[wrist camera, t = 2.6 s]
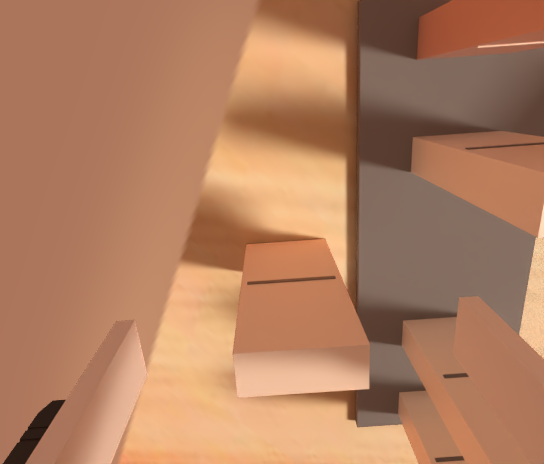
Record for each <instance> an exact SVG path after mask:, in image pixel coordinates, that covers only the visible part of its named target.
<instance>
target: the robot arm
mask: <svg viewBox="0 0 544 464" xmlns="http://www.w3.org/2000/svg"><path fill="white" fill-rule="evenodd" d="M453 355H454V356H455V358H456V359H457V361H458V362H459V363H460V365H461V366H462V368H463V369H464V370H465V372H466V373H467V375H468V376H469V377H470V379H471V380H472V382H473V383H474V384H475V386H476V387H477V389H478V390H479V391H480V393H481V394H482V396H483V397H484V398H485V400H486V401H487V403H488V404H489V405H490V407H491V408H492V410H493V411H494V413H495V414H496V415H497V417H498V418H499V420H500V421H501V422H502V424H503V425H504V427H505V428H506V429H507V431H508V432H509V434H510V435H511V436H512V438H513V439H514V441H515V442H516V443H517V445H518V446H519V448H520V449H521V450H522V452H523V453H524V455H525V456H526V457H527V459H528V460H529V462H530V463H531V464H544V359H543V358H542V357H541V356H540V355H539V354H538V353H537V352H536V351H535V350H534V349H533V348H532V347H530V346H529V345H528V344H527V343H526V342H525V341H524V340H523V339H522V338H521V337H520V336H519V335H518V334H517V333H516V332H515V331H514V330H513V329H512V328H511V327H510V326H509V325H508V324H507V323H506V322H505V321H504V320H503V319H502V318H500V317H499V316H498V315H497V314H496V313H495V312H494V311H493V310H492V309H491V308H490V307H489V306H488V305H487V304H486V303H485V302H484V301H483V300H482V299H481V298H480V297H479V296H472V297H459V304H458V312H457V321H456V329H455V338H454V346H453ZM146 377H147V371H146V367H145V362H144V358H143V353H142V349H141V345H140V340H139V335H138V331H137V327H136V322H135V320H125V321H116V322H115V324H114V325H113V327H112V329H111V330H110V332H109V333H108V335H107V336H106V338H105V339H104V341H103V343H102V344H101V346H100V347H99V349H98V350H97V352H96V353H95V355H94V357H93V358H92V360H91V361H90V363H89V364H88V366H87V368H86V369H85V371H84V372H83V374H82V375H81V377H80V379H79V380H78V382H77V383H76V385H75V387H74V388H73V390H72V391H71V393H70V394H69V396H68V398H67V399H66V400H56V401H52V402H51V403H50V404H48V405H47V406H46V407H45V408H44V409H43V410H41V411H40V412H39V413H38V414H37V416H36V417H35V418H34V420H33V421H32V423H31V424H30V426H29V427H28V430H27V431H25V433H24V434H23V436H22V437H21V438H20V442H19V443H17V444H16V446H15V447H14V449H13V450H12V451H11V453H10V454H9V456H8V457H7V459H6V460H5V462H4V463H3V464H111V462H112V460H113V457H114V455H115V452H116V450H117V448H118V445H119V443H120V440H121V438H122V435H123V433H124V430H125V428H126V426H127V423H128V421H129V418H130V416H131V413H132V411H133V408H134V406H135V403H136V401H137V399H138V396H139V394H140V391H141V389H142V386H143V384H144V381H145V379H146Z"/></svg>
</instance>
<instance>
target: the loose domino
mask: <svg viewBox="0 0 544 464" xmlns="http://www.w3.org/2000/svg"><path fill="white" fill-rule="evenodd" d="M233 362H234V370H235V378H236V386H237V394H238V398H242V397H257V396H271V395H286V394H301V393H316V392H331V391H346V390H360V389H369V371H370V343H369V341H368V339H367V336H366V334H365V332H364V329H363V327H362V324H361V322H360V320H359V317H358V315H357V313H356V310H355V308H354V306H353V303H352V301H351V299H350V296H349V294H348V291H347V289H346V287H345V284H344V282H343V280H342V277H341V275H340V273H339V270H338V268H337V266H336V263H335V261H334V258H333V256H332V254H331V251H330V249H329V247H328V244H327V242H326V240H325V239H314V240H299V241H285V242H271V243H256V244H246V251H245V259H244V267H243V275H242V283H241V291H240V299H239V307H238V314H237V322H236V330H235V338H234V346H233Z"/></svg>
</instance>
